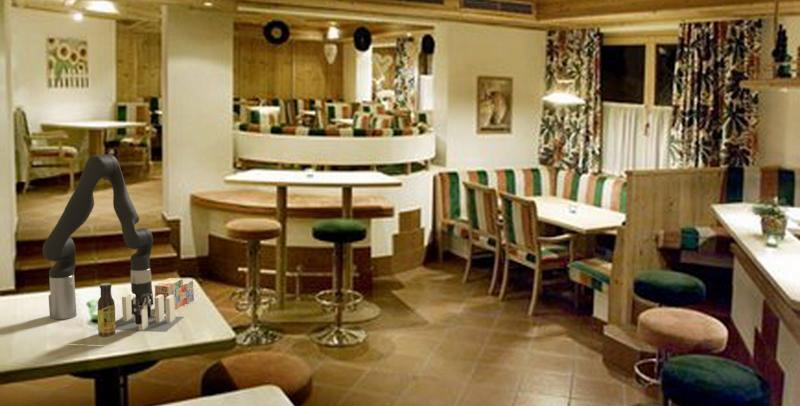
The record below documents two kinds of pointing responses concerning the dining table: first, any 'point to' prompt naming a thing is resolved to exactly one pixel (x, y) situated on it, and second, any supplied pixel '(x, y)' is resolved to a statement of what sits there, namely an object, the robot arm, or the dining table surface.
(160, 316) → the domino
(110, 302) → the sauce bottle
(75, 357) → the dining table surface
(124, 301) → the domino
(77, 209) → the robot arm
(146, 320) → the domino
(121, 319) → the mat
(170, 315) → the domino
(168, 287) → the stack of blocks
